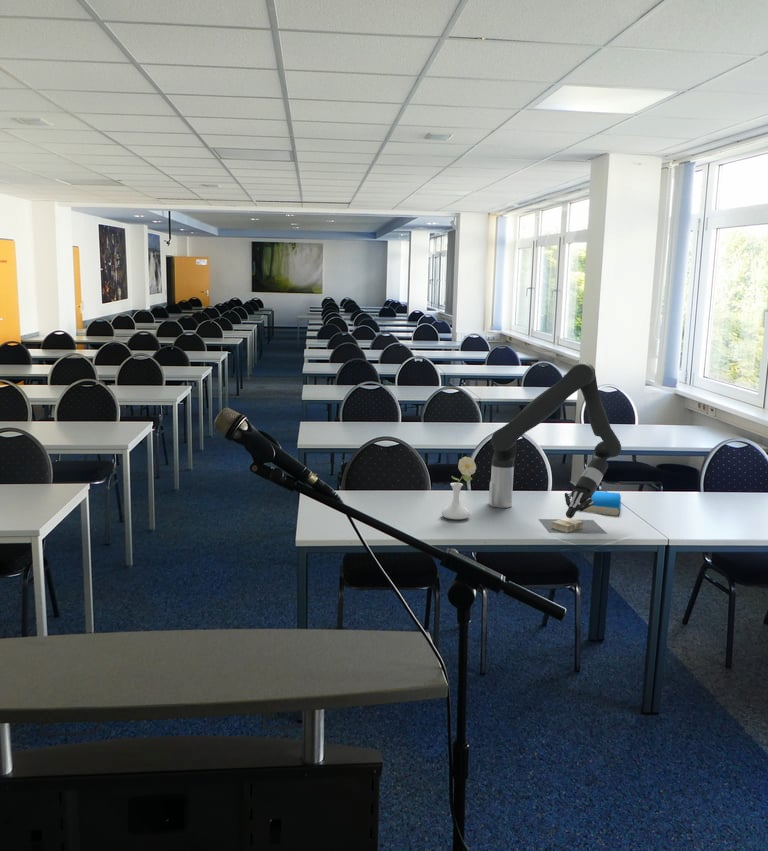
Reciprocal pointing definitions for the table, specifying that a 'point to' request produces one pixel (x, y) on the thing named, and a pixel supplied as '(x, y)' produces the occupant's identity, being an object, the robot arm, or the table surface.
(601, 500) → the book
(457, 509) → the flower in vase
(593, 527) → the mat
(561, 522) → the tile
